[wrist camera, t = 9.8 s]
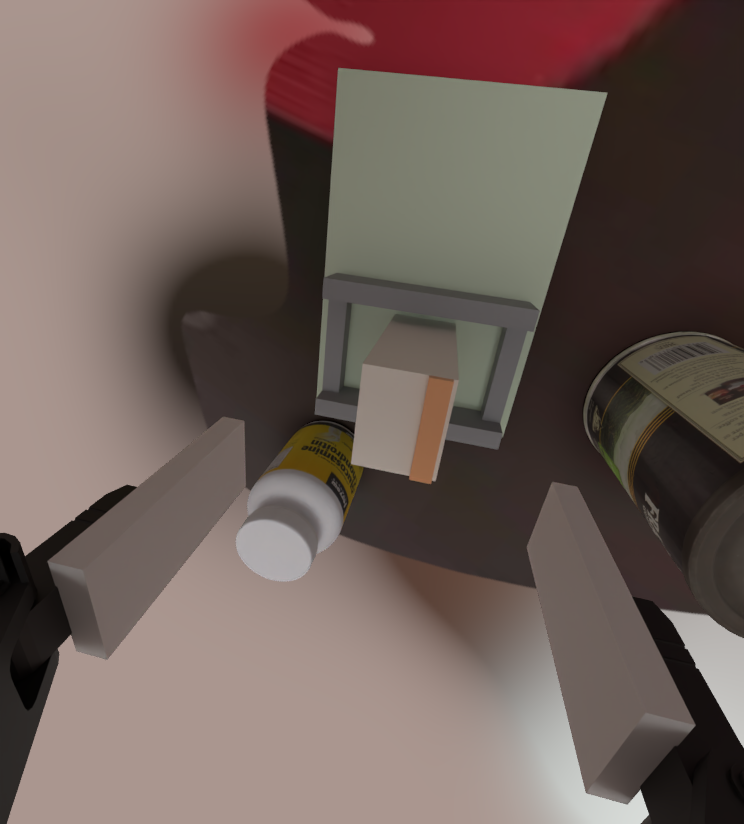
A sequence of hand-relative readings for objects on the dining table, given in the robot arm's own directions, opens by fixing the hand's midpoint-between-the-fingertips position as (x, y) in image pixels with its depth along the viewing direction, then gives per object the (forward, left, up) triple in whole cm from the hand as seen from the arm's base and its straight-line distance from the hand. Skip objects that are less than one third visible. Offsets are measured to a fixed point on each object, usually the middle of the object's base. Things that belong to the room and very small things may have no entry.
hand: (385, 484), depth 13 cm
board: (-5, 0, -17) cm, 17 cm away
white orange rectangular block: (0, 0, -16) cm, 16 cm away
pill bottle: (+10, -6, -17) cm, 21 cm away
